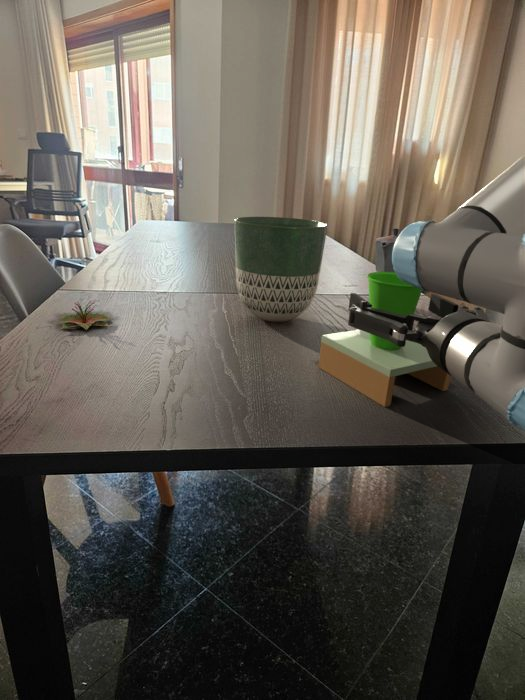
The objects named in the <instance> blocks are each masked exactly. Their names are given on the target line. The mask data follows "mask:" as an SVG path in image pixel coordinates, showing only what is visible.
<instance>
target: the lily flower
mask: <svg viewBox="0 0 525 700" xmlns="http://www.w3.org/2000/svg"><path fill="white" fill-rule="evenodd" d="M91 302H92V300H90V301H88V303H87V305H86V307H85V309H84V311H83V309H82V305H81V304H80V302H79V301H76V302H74V305H75V306H74V307H75V308H71V310H72V311H74V312H75V314H66V315H64V314H62V315H61V318H60V319H58V320H57V321H54V322H53V323H62V322H64V323H63V324H62V325H61V327H60V329H61V330H63V329H67V328H72V327H75V328H76V327H82V328H83V329H84V330H86V331H87V330H88V329H89V328H90V327H92V326H101V327H109V324H108V322H107V320H111V321H112V320H115V319H114V318H111V317H109V316H106V313H93V312H92V311H94V310H95V309H94V308H92V306H93V305H95V304H96V302H92V303H91ZM90 303H91V304H90ZM105 320H106V321H105Z"/></svg>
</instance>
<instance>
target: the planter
mask: <svg viewBox="0 0 525 700" xmlns="http://www.w3.org/2000/svg"><path fill="white" fill-rule="evenodd" d="M327 231H328V224H327V223H325V222H322V221H317V220H312V219H304V218H294V217H283V216H282V217H281V216H242V217H236V218H235V219H234V259H235V263H234V264H235V284H236V289H237V293H238V296H239V299H240V301H241V303H242V304H243V306H244V307H245V308H246V309H247V311H248V312H249V313H250V314H252V315H253V316H254V317H256V318H257V319H260V320H263V321H265V322H271V323H282V322H283V323H284V322H288V321H291V320H294V319H296V318H298V317H299V316H301V315H302V314H304V313H305V311H306V310H308V309H309V307H310V306H311V304H312V302H313V301H314V298H315V296H316V293H317V290H318V287H319V281H320V276H321V269H322V264H323V263H322V262H323V255H324V251H325V250H324V249H325V244H326V237H327Z"/></svg>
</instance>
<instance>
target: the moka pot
mask: <svg viewBox="0 0 525 700" xmlns="http://www.w3.org/2000/svg"><path fill="white" fill-rule="evenodd" d="M399 232H400V229H399V228H392V235H388V236H387V235H385V236H381V237H376V239H375V272H395V271H394V269H393V264H392V252H393V247H394V244H395V241H396V239H397V238H398V236H399Z"/></svg>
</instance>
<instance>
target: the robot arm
mask: <svg viewBox="0 0 525 700" xmlns="http://www.w3.org/2000/svg"><path fill="white" fill-rule="evenodd" d="M392 264H393V269H394V271H395V273H396V275H397V276H398V278H399V279H400V280H402V281H403V282H405V283H408V284H410V285H412V286H415V287H417V288H419V289H421V290H422V292H426V293H430V298H429V302H428V303H429V304H428V309H427V311H429V312H431V314H434V315H436V316H434V315H431V316H427V315H426V316H425V315H422V314H418V313H414V314H410V315H408V316H405V315H401V314H397V313H393V312H389V311H384V310H380V309H376V308H372V304H370V303H369V300H366V299H365V298H363V297H362V296H360V295H359V294H357V293H356V292H350V295H349V303H348V311H349V314H348V323H347V326H349V327H351V328H355V329H356V330H358V329H359V330H362V331H365V332H367V333H370V334H373V335H375V336H378V337H381V338H383V339H386V340H388V341H390V342H392V343H393V344H395V345H397V346H399V347H404V346H405V344H406V340H408V341H411V342H415V343H418V344H421V345H422V346H423V347H426V349H427V352H428V354H429V356H430V358H431V360H432V361H433V362H434V363H435V364H436V365H437V366H438V367H440V368H441V369H442V370H444V371H445V372H446V373H448V374H449V375H451V377H452V378H453V379H455V380H456V381H458V382H459V383H461V384H462V385H463V386H465V387H466V388H468V389H469V390H470V391H472V392H473V394H475V395H476V396H477V397H479V398H480V399H481V400H483V401H484V402H485V403H487V404H488V405H489V406H491V407H492V408H493V409H494V410H495V411H496V412H498V413H499V414H501V415H502V416H503V417H505V418H506V419H507V420H508V421H509V423H511V424H512V425H513V426H515V427H518V428H519V429H521V430H522V431H524V432H525V154H524V155H522V156H521V157H520V158H518V159H517V160H516V161H515V162H514V163H512V164H511V165H510V166H509V167H508V168H506V169H505V170H504V171H502V172H501V173H500V174H499V175H498V176H496V177H494V179H493V180H492V181H490V182H489V183H487V184H486V185H485V186H484V187H483V188H482V189H480V190H479V191H477V192H476V193H475V194H474V195H472V197H470V198H469V199H468V200H466V201H465V202H464V203H463V204H462V205H461V206H459V207H458V208H457V209H455V211H453V212H452V213H449V215H448V216H446V217H445V218H444V219H443V220H442V221H439V222H435V220H427V221H415V222H412V223H409V224H408V225H407V226H406V227H404V228H403V229H402V231H401V232H400V233H399V234H398V238H397V239H396V241H395V244H394V247H393V252H392ZM442 296H443V297H442ZM445 297H448V298H451V299H454V300H458V301H461V302H464V303H468V304H470V305H473V306H476V307H473V309H470V308H469V307H468V306H466V305H462V306H461V305H459V304H458V303H456V302H453V301H451V300H449V299H447V298H445ZM484 309H487V310H490V311H493V312H496V313H500V314H503V319H502V320H503V321H502V326H499V325H498V324H495V323H494V322H491V321H490V319H489V317H488V315H487V314H486V313H485V311H484ZM415 322H417V324H416V325H415V327H414V324H415ZM413 329H414V330H413Z"/></svg>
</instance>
